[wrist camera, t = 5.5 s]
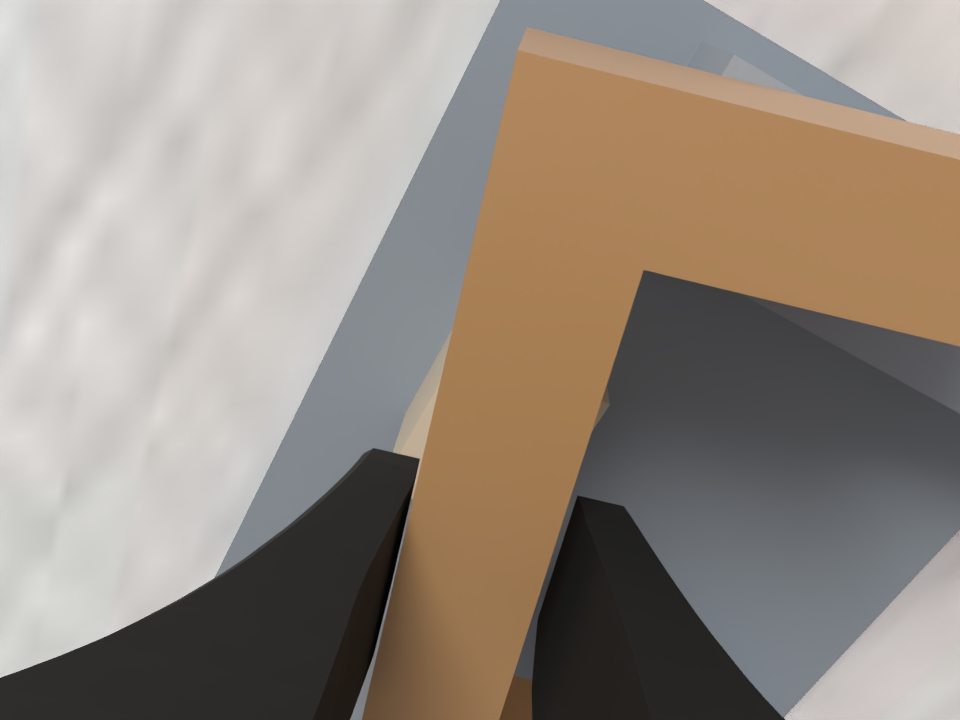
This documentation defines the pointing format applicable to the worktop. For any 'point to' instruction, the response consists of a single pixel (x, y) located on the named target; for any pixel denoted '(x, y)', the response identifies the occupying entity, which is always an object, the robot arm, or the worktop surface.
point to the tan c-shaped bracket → (628, 312)
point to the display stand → (665, 389)
